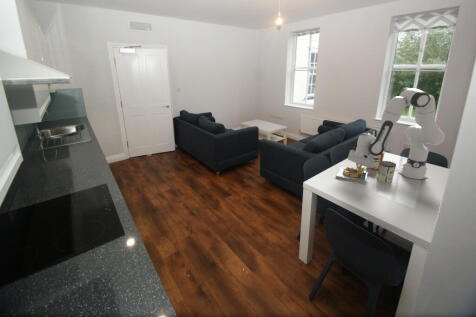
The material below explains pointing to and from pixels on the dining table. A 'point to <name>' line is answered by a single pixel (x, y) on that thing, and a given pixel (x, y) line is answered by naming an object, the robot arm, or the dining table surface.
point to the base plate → (353, 179)
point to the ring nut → (357, 174)
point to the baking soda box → (377, 161)
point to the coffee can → (386, 171)
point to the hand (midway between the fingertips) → (358, 168)
